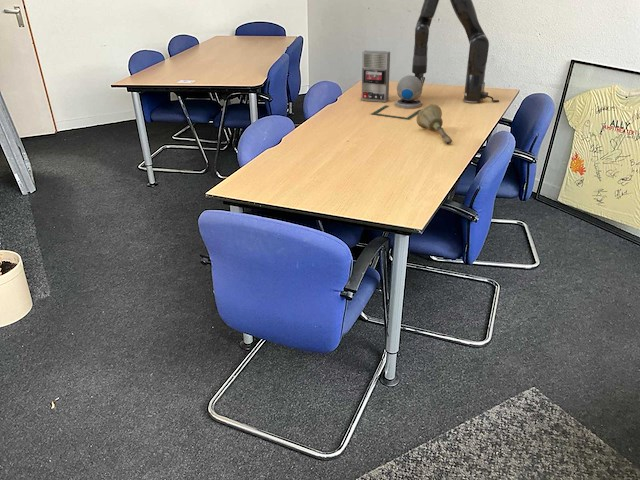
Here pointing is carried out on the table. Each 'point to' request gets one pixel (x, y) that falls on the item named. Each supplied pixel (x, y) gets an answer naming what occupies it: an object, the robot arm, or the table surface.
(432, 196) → the table surface
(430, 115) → the handbell
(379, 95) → the cassette tape recorder
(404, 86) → the webcam
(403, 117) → the tape bay
